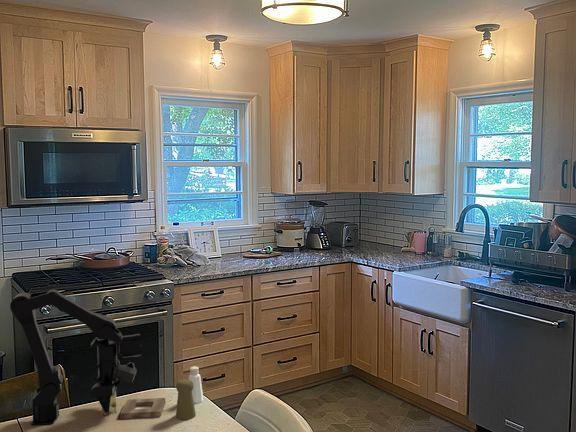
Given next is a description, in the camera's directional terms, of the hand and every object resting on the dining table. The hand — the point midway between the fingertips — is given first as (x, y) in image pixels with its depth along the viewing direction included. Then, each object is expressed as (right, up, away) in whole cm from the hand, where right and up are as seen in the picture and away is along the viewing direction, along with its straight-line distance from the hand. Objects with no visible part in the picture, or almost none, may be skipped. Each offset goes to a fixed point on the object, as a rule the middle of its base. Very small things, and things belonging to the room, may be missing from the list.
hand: (109, 408), depth 179 cm
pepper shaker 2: (+25, -1, +8) cm, 27 cm away
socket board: (+10, -1, +1) cm, 11 cm away
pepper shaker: (+24, -1, -4) cm, 25 cm away
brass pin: (0, -1, 0) cm, 1 cm away
